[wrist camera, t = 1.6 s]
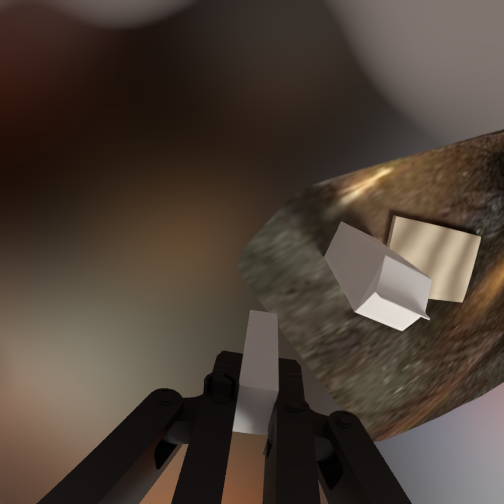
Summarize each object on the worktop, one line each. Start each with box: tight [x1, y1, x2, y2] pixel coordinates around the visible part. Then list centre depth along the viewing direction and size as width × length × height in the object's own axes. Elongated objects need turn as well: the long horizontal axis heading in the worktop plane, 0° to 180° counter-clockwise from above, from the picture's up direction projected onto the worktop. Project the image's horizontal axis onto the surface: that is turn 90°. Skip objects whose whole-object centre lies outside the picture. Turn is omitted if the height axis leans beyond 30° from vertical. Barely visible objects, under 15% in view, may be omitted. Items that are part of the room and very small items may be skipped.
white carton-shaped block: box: [324, 222, 432, 331], centre depth 33 cm, size 6×6×22 cm
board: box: [387, 215, 481, 302], centre depth 43 cm, size 18×12×1 cm, turn 82°
